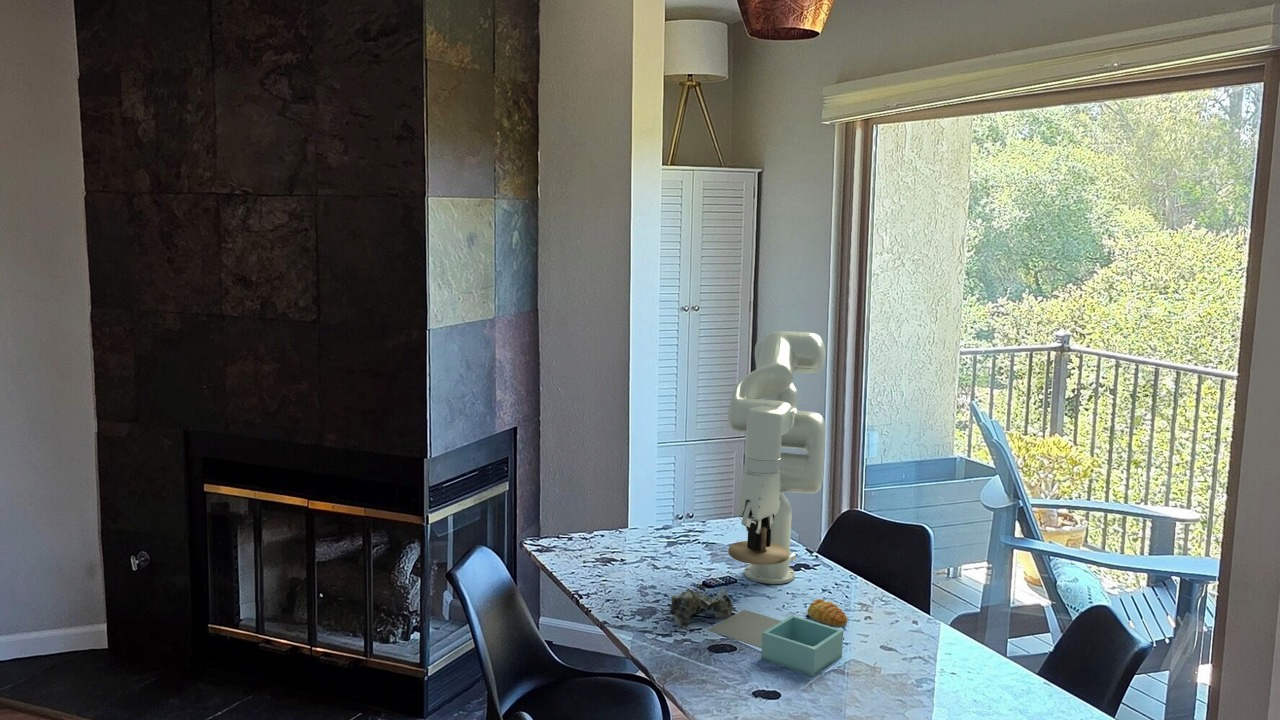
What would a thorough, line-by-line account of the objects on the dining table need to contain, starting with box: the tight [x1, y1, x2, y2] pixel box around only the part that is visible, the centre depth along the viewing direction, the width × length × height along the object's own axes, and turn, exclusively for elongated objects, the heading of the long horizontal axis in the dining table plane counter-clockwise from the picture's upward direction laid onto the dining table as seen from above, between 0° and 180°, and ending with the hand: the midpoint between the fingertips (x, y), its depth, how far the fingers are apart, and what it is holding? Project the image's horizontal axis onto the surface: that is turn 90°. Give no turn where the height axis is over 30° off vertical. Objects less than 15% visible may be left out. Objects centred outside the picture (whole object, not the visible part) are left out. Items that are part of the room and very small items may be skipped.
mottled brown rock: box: [668, 587, 734, 629], centre depth 230 cm, size 12×11×15 cm
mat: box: [706, 609, 782, 649], centre depth 225 cm, size 15×15×1 cm
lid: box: [727, 526, 789, 565], centre depth 222 cm, size 13×13×6 cm
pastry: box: [807, 598, 849, 628], centre depth 231 cm, size 9×7×4 cm
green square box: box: [760, 614, 844, 677], centre depth 211 cm, size 12×12×6 cm
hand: (758, 546), depth 222 cm, fingers closed on lid, 3 cm apart
